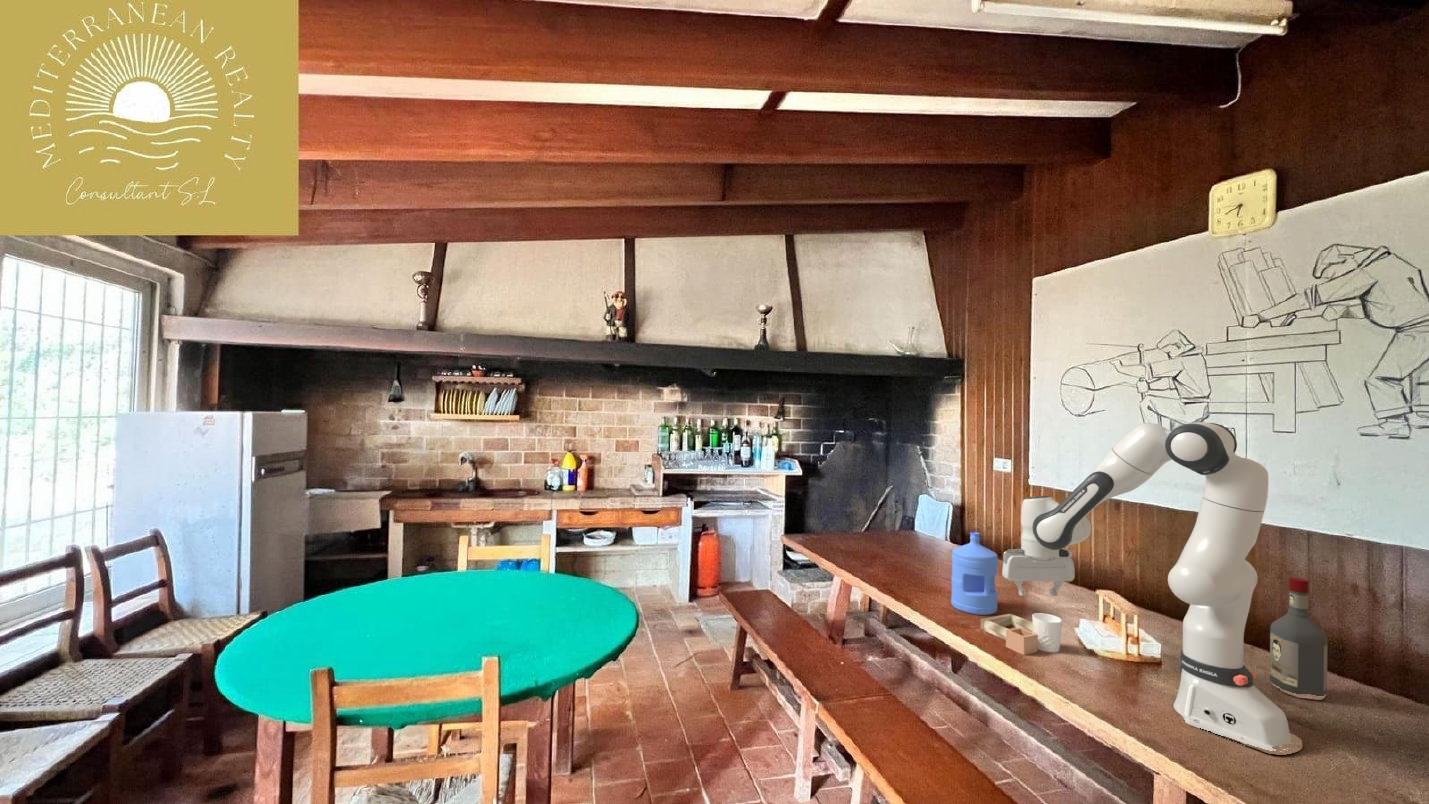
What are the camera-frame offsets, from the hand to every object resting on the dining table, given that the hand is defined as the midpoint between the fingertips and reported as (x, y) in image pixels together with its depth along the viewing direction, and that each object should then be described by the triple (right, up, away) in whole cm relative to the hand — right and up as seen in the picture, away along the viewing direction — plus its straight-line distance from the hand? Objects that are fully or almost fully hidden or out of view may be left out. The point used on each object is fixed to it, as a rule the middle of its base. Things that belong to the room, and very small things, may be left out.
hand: (1038, 595), depth 169 cm
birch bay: (0, -18, +15) cm, 23 cm away
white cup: (+5, -19, +4) cm, 20 cm away
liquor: (+58, -19, -20) cm, 64 cm away
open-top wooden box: (-4, -18, +2) cm, 19 cm away
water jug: (-1, -19, +40) cm, 44 cm away
